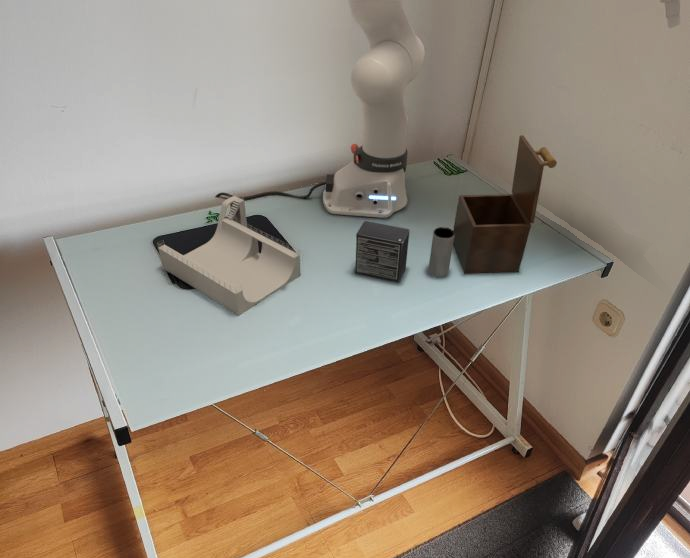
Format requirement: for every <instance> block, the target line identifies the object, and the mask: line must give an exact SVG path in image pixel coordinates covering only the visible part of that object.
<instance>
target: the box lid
mask: <svg viewBox="0 0 690 558" xmlns="http://www.w3.org/2000/svg"><path fill="white" fill-rule="evenodd" d="M557 164H558V162H557V160H556V159H555V157H554V156H553V155H552V153H551V152H550V150H549V149H547V147H545V146H543V147H541V148H540V149H539V150H535V149H534V148H533V146H532V145H531V144H530V142H529V141H528V139H527V138H526V137H525V135H524V134H523V135H521V134H520V135H519V137H518V144H517V152H516V160H515V167H514V174H513V179H512V187H511V194H513V195H514V197H515V199H516V200H517V202H518V204H519V206H520V207H521V209H522V211H523V212H524V214H525V216H526V217H527V219H528V221H529V222H530V224H531V225H532V224H535V218H536V212H537V207H538V201H539V196H540V190H541V185H542V179H543V173H544V168H545V167H547V168H549V169H553V168H555V167H556V166H557Z"/></svg>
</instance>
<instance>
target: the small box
mask: <svg viewBox="0 0 690 558" xmlns="http://www.w3.org/2000/svg"><path fill="white" fill-rule="evenodd" d="M410 232H411V229H410V228H406V227H401V226H400V227H399V226H395V225H389V224H385V223H380V222H379V223H378V222H374V221H369V220H364V221H363V222H362V224H361V226H360V227H359V228H358V230H357V232H356V233H355V237H356V238H355V241H356V243H355V267H354V274H355V275H360V276H365V277H370V278H374V279H379V280H383V281H388V282H393V283H397V284H398V283H400V282H401V279H402V278H403V275H404V274H405V272H406V269H407V261H408V249H409V240H410Z"/></svg>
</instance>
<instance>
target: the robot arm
mask: <svg viewBox="0 0 690 558" xmlns="http://www.w3.org/2000/svg"><path fill="white" fill-rule="evenodd" d="M347 1H348V5H349V9H350V13H351V14H350V15H351V17H352V19H353V21H354V22H355V23H356V24H357V25H359V27H360V28H361V30H362V32H363V33H364V36H365V37H366V40H367V42H368V45H369V47H370V49H367V50H366V51H365V52H363V53H362V54H361V56H360V57H359V58H358V59H357V61H356V63H355V64H354V66H353V68H352V70H351V73H350V84H351V88H352V90H353V92H354V94H355V96H357V98H358V99H359V103H360V108H361V113H362V137H361V145H360V147H359V145H358V144H357V143H352V144H351V146H350V151H351V153H352V154H353V160H352V161H351V162H349V163H347V164H346V165H345V166H343V167H342V168H340V169H338V170H336V172H335V173H334V174H326V179H325V181H322V182H320V183H317V184H315V185H314V186H312V187H311V188H310V189H309V191H308V194H306V195H303V196H298V195H294V194H290V193H287V192H283V191H276V190H275V191H274V190H273V191H265V192H260V193H257V194H252V195H246V196H244V199H243V196H238V197H239V198H241V199H243V200H244V201H245V200H251V199H255V198H259V197H263V196H267V195H268V196H269V195H279V196H280V195H281V196H285V197H290V198H294V199H301V200H306V199H308V198H309V197H311V195H312V193H313V192H314V190H315V189H317V188H319V187H322V186H324V185H325V189H324V190H323V193H322V203H323V206H324V209H325V210H326V211H327V212H329V213H330V214H332V215H342V216H355V217H368V218H382V219H387V218H389V217H391V216H392V215H393V214H394V213H396V212H398V211H400V210H402V209H403V208H405V207H406V206H407V205H408V201H409V200H408V195H407V190H406V171H407V166H408V158H409V156H408V155H409V153H408V147H407V145H408V133H409V122H410V121H409V116H408V114H407V113H406V109H405V97H404V95H405V90H406V87H407V85H409V84H410V83H411V82H413V80H414V79H415V78H417V76H418V75H419V73H420V71H421V70H422V67H423V65H424V62H425V57H426V50H425V46H424V44H423V41H422V40H421V39H420V38H419V37H418V36H417V35H416V33H415V31H414V29H413V27H412V24H411V21H410V20H409V17H408V15H407V12H406V8H405V6H404V3H403V0H347ZM659 2H660V3H664V8H665V18H666V19H667V27H668V28H669V29H672V28H675V27H678V26H680V25H681V0H659ZM229 195H230V196H229ZM220 196H224V197H225V196H226V197H228V198H229V197H232V196H234V194H232V195H231V193H228V192H219V193H217V194H216V195H215V196H214V197H215V198H219V197H220Z"/></svg>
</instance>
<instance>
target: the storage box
mask: <svg viewBox="0 0 690 558" xmlns="http://www.w3.org/2000/svg"><path fill="white" fill-rule="evenodd" d="M531 229H532V223H531V224H530V222H529V221H528V219H527V217H526V216H525V214H524V212H523V211H522V209H521V207H520V206H519V204H518V202H517V200H516V199H515V197H514V195H513V194H512V193H510V194H509V193H503V194H501V193H500V194H499V193H498V194H496V193H495V194H461V195H458V200H457V206H456V212H455V218H454V224H453V228H452V230H453V231H454V233H455V236H454V242H453V249H454V252H455V254H456V257H457V259H458V262H459V265H460V267H461V269H462V273H463V274H464V275H480V274H481V275H482V274H485V275H486V274H511V273H513V274H515V273H519V272H520V268H521V264H522V261H523V257H524V253H525V250H526V247H527V242H528V240H529V239H528V238H529V236H530V233H531V232H530V231H531Z"/></svg>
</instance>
